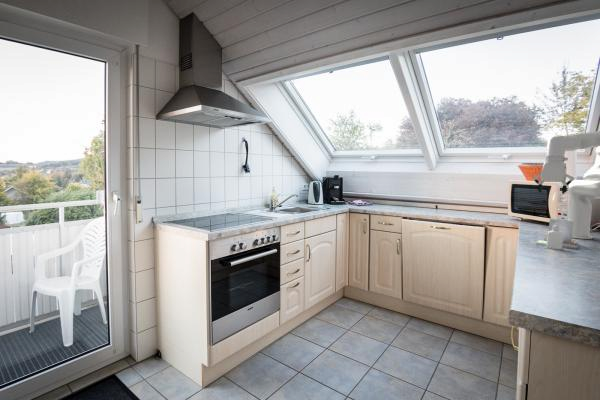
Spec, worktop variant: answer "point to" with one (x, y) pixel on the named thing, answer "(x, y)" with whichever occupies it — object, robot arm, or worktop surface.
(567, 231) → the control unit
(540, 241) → the sage pad
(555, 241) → the eye dropper bottle
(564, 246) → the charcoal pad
